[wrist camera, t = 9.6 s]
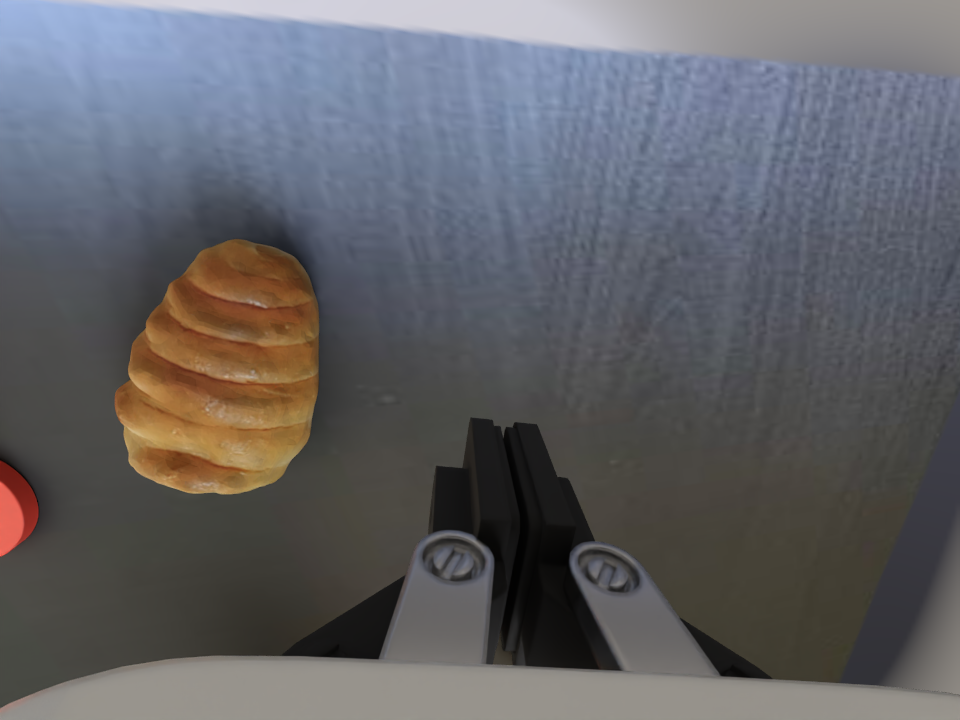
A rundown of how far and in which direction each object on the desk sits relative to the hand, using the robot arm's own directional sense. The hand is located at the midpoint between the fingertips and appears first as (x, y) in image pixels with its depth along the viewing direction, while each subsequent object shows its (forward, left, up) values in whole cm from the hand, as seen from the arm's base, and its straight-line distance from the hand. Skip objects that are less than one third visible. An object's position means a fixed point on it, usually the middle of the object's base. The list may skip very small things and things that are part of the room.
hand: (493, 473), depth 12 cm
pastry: (+1, -10, -9) cm, 13 cm away
